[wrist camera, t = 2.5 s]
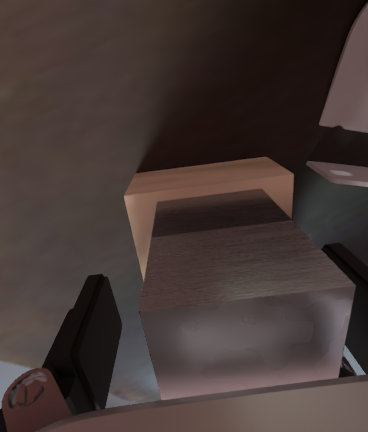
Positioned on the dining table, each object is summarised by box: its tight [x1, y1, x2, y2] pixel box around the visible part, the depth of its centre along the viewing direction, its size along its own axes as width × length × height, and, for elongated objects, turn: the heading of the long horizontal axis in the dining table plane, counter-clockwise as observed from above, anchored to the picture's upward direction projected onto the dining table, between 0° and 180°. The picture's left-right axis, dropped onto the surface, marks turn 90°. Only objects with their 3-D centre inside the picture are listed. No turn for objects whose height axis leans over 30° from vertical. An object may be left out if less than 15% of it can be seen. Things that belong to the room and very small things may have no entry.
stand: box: [124, 157, 294, 280], centre depth 16 cm, size 8×8×4 cm
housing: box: [139, 188, 356, 400], centre depth 11 cm, size 7×5×7 cm
